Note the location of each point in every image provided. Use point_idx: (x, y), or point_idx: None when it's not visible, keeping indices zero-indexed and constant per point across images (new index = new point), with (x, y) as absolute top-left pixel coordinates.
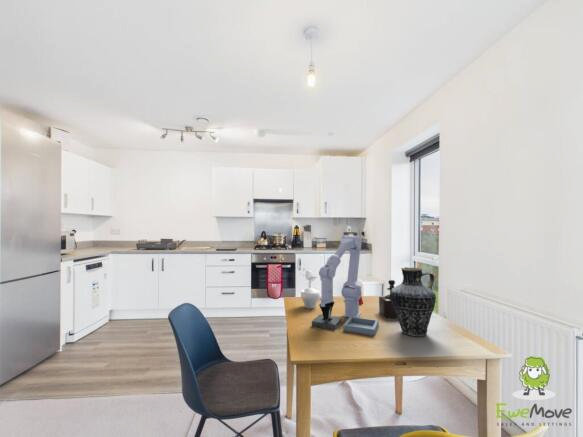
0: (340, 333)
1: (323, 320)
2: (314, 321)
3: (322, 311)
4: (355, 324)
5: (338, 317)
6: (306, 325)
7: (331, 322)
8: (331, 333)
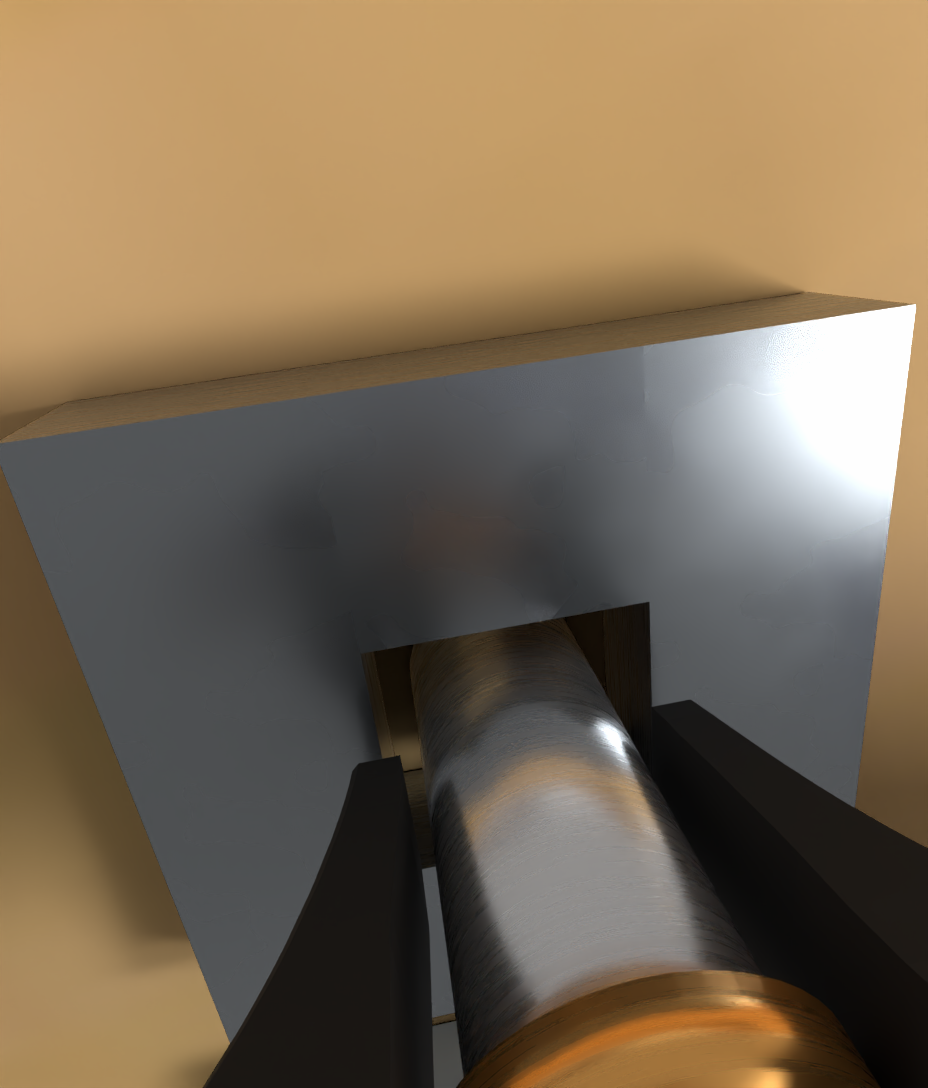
0: (158, 1064)
1: (356, 717)
2: (54, 540)
3: (262, 1020)
4: None
5: None
6: (10, 193)
7: None
8: (22, 971)
